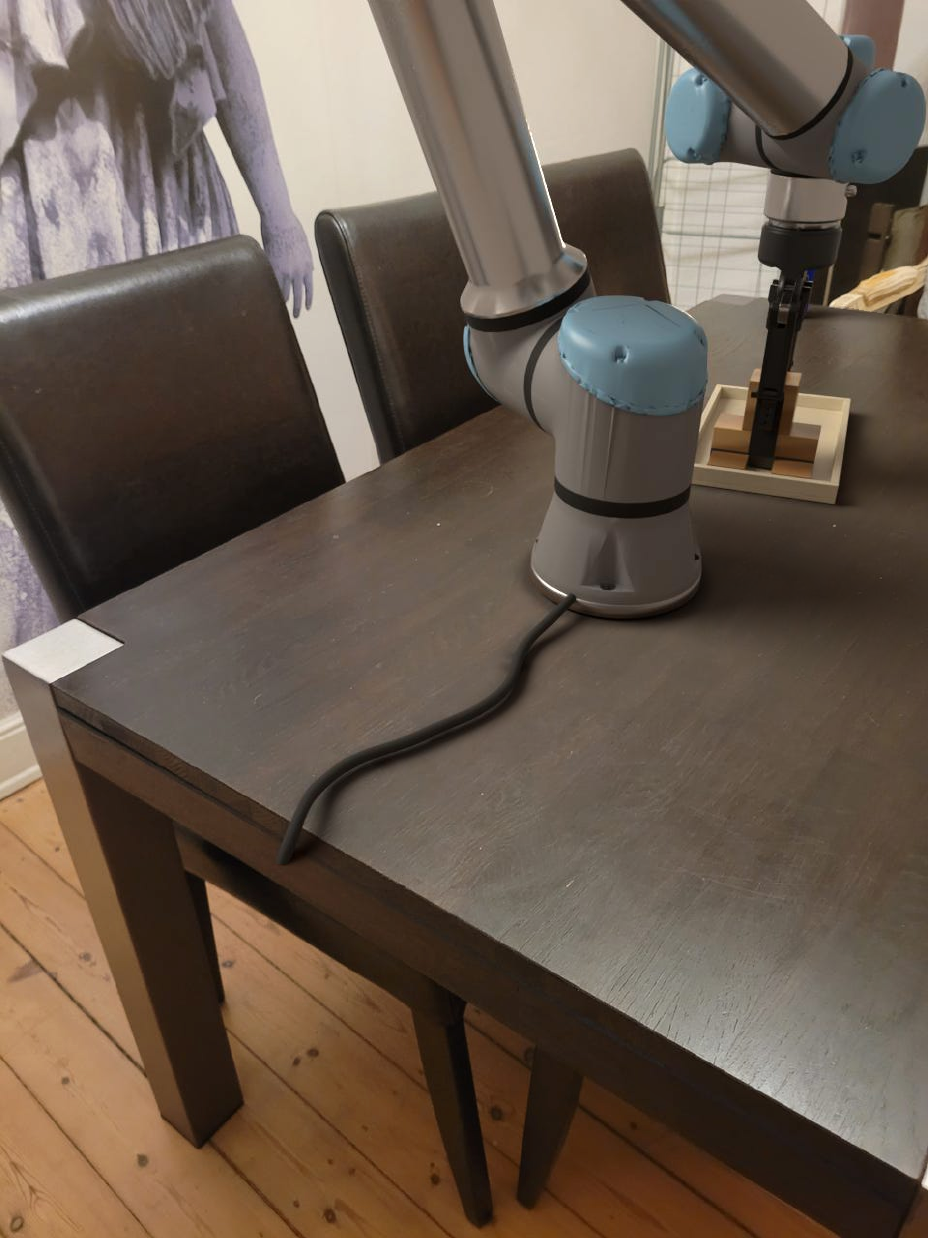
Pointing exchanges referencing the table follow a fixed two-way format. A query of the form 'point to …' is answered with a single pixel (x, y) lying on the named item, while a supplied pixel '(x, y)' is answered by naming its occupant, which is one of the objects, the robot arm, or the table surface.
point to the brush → (791, 438)
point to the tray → (760, 480)
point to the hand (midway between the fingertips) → (763, 445)
